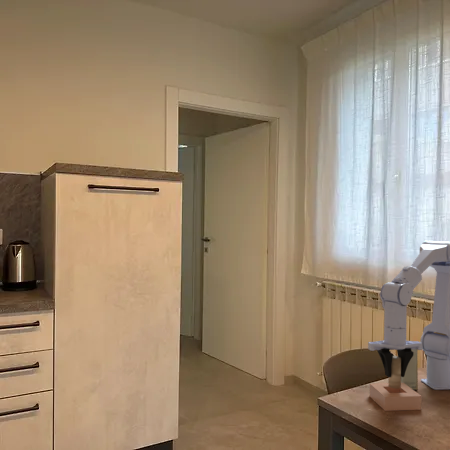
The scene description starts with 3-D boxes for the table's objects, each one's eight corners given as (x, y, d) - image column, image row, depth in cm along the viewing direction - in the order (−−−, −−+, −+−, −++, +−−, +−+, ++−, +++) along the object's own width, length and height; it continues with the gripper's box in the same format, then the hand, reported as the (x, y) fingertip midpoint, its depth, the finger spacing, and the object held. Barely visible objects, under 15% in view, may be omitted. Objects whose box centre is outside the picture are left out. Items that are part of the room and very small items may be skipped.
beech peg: (397, 384, 125) (397, 355, 125) (403, 388, 122) (403, 359, 122) (386, 384, 125) (386, 355, 125) (391, 388, 121) (391, 359, 121)
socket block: (403, 395, 129) (403, 382, 129) (421, 409, 119) (421, 396, 119) (369, 396, 128) (369, 383, 128) (384, 410, 118) (385, 397, 118)
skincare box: (418, 390, 132) (418, 349, 132) (402, 389, 133) (402, 348, 133) (413, 382, 139) (414, 343, 139) (398, 381, 140) (398, 342, 139)
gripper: (375, 330, 119) (375, 381, 119) (428, 329, 120) (427, 380, 120) (365, 324, 126) (364, 372, 126) (414, 323, 127) (414, 371, 127)
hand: (394, 375), depth 123 cm, fingers closed on beech peg, 3 cm apart
